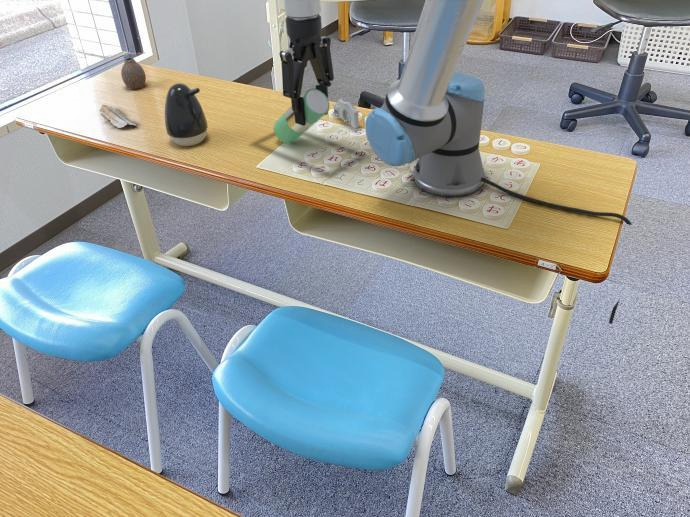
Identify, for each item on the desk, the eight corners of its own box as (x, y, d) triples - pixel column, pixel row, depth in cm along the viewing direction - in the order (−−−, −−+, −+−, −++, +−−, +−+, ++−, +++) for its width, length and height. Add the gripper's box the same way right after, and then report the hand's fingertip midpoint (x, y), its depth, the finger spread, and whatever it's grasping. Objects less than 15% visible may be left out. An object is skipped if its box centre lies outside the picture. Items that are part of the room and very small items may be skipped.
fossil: (94, 112, 167) (103, 100, 167) (103, 119, 169) (113, 107, 170) (119, 132, 155) (129, 119, 156) (129, 139, 158) (139, 127, 158)
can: (334, 109, 136) (319, 84, 135) (314, 119, 132) (299, 93, 131) (302, 137, 148) (288, 115, 148) (283, 147, 145) (268, 124, 144)
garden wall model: (333, 114, 160) (332, 93, 156) (338, 113, 161) (337, 92, 157) (354, 130, 152) (353, 109, 148) (360, 129, 152) (360, 107, 149)
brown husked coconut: (121, 91, 180) (113, 62, 174) (131, 82, 185) (123, 54, 180) (142, 91, 179) (134, 63, 173) (151, 83, 184) (144, 55, 179)
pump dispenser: (201, 152, 145) (189, 93, 136) (163, 150, 147) (148, 91, 138) (217, 134, 153) (206, 77, 144) (180, 132, 155) (167, 75, 146)
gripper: (322, 2, 131) (328, 101, 145) (256, 24, 120) (270, 129, 134) (347, 7, 127) (351, 108, 141) (281, 29, 116) (293, 137, 130)
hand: (311, 118), depth 137 cm, fingers closed on can, 7 cm apart
